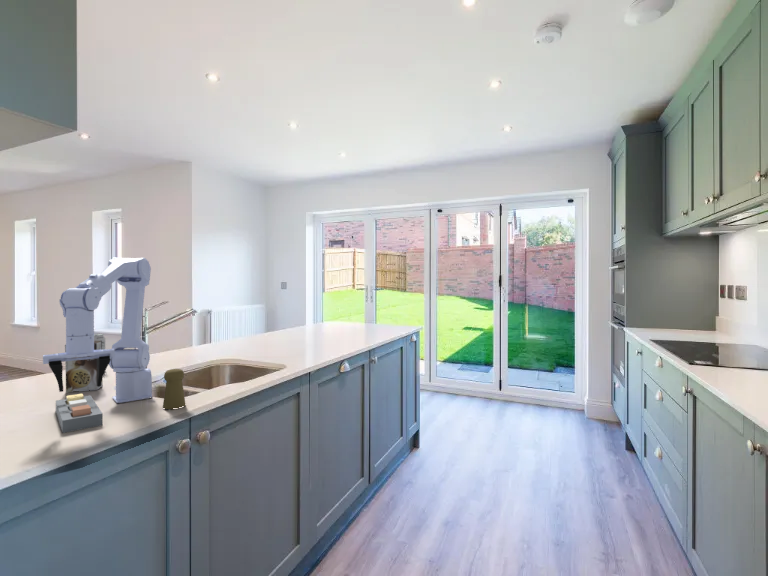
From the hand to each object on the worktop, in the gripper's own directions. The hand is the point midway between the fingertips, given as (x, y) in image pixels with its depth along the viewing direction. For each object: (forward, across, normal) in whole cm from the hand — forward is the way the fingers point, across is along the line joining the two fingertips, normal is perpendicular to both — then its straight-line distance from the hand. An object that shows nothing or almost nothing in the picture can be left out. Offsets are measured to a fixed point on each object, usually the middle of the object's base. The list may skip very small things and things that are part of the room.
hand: (80, 388), depth 103 cm
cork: (+10, +22, +1) cm, 24 cm away
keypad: (+9, 0, +7) cm, 12 cm away
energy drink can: (+10, +12, +72) cm, 73 cm away
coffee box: (+10, +5, +42) cm, 43 cm away
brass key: (+8, 0, +14) cm, 16 cm away
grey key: (+8, 0, +7) cm, 11 cm away
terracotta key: (+8, 0, 0) cm, 8 cm away
